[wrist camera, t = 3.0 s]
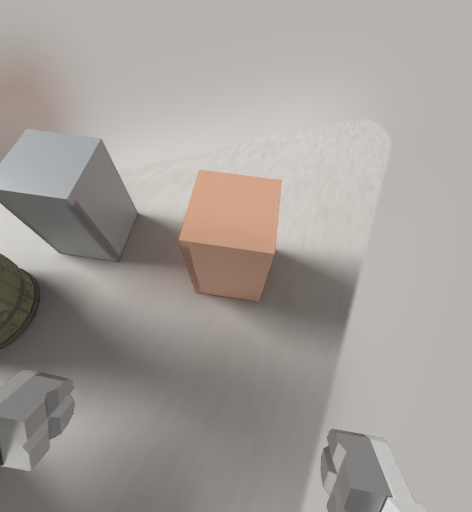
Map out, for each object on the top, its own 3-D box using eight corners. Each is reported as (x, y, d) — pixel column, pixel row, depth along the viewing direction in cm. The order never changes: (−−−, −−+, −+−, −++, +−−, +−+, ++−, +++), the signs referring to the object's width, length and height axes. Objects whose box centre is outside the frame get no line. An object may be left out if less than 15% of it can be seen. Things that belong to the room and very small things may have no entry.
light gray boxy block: (118, 261, 28) (66, 199, 19) (59, 252, 28) (-19, 187, 19) (137, 212, 31) (101, 138, 22) (84, 205, 31) (26, 129, 22)
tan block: (259, 301, 26) (274, 253, 17) (195, 292, 26) (178, 240, 18) (265, 245, 29) (281, 180, 20) (207, 237, 29) (199, 169, 21)
